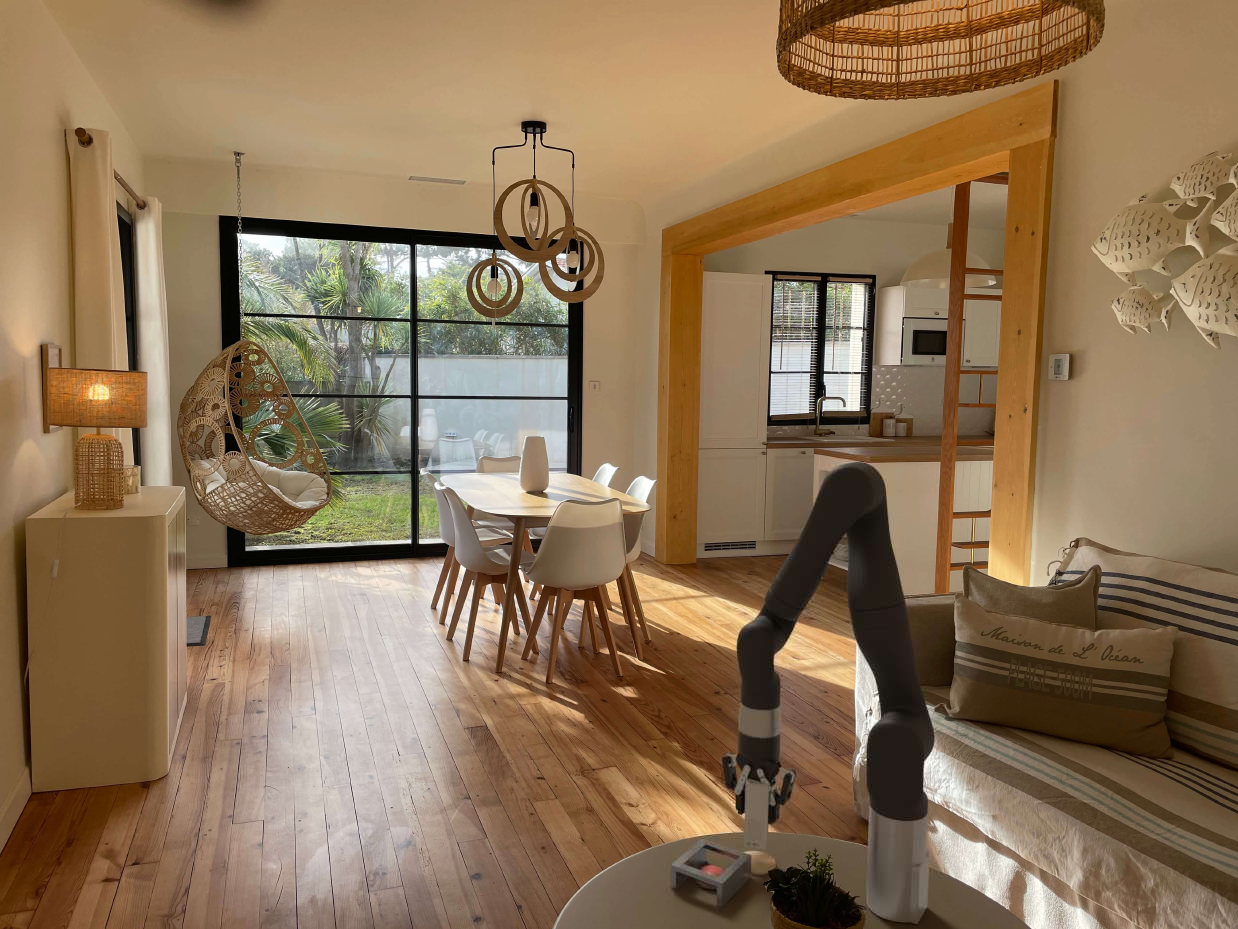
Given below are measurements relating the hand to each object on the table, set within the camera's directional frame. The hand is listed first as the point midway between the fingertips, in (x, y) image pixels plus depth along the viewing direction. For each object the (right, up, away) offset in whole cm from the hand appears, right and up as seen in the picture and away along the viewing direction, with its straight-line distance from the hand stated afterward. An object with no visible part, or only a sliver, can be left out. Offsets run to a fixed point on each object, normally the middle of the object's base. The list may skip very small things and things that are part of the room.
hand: (756, 817), depth 159 cm
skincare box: (0, -5, +1) cm, 5 cm away
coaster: (0, -9, +1) cm, 9 cm away
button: (-9, -9, -5) cm, 14 cm away
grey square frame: (-9, -9, -5) cm, 14 cm away
